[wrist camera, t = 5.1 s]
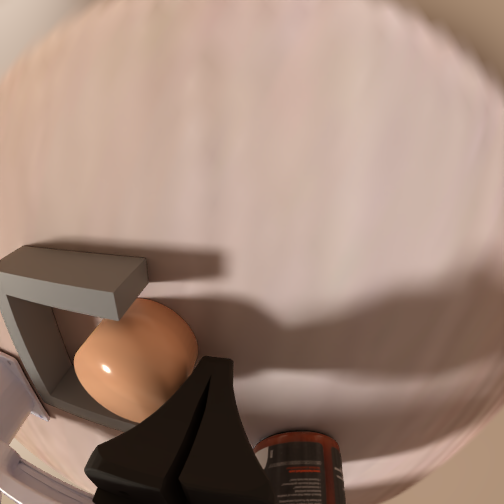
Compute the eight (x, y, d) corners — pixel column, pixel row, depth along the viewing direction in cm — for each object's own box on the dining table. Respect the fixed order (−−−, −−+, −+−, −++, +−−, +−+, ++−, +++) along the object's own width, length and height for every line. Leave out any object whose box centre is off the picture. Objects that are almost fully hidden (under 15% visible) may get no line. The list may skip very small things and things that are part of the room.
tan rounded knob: (117, 365, 15) (91, 408, 12) (99, 291, 13) (60, 331, 10) (200, 382, 15) (184, 433, 12) (196, 306, 13) (172, 359, 10)
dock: (64, 373, 16) (43, 402, 13) (22, 245, 13) (-14, 268, 10) (169, 401, 16) (155, 440, 13) (145, 258, 12) (113, 292, 9)
